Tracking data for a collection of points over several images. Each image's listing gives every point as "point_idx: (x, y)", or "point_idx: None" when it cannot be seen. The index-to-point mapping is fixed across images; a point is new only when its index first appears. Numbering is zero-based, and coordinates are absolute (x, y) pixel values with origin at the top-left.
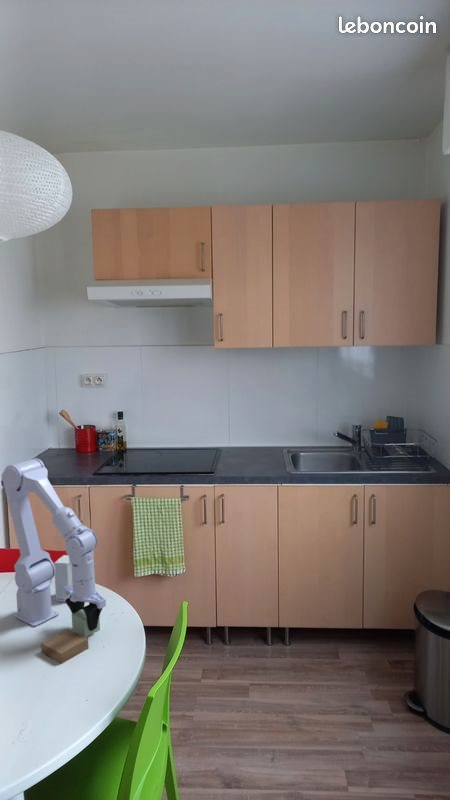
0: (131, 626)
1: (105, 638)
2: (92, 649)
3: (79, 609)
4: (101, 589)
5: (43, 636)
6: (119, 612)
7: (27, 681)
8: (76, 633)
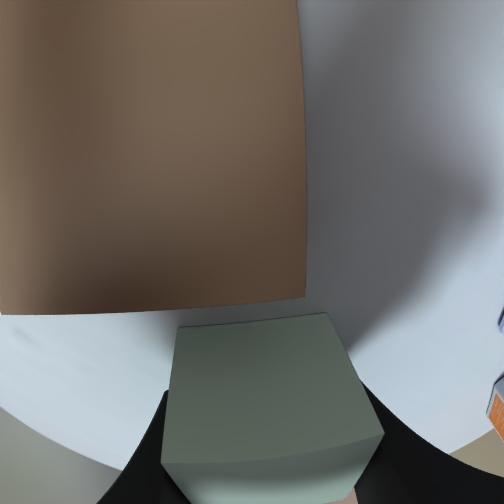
0: None
1: (94, 385)
2: None
3: (366, 479)
4: None
5: (457, 145)
6: None
7: None
8: (134, 306)
